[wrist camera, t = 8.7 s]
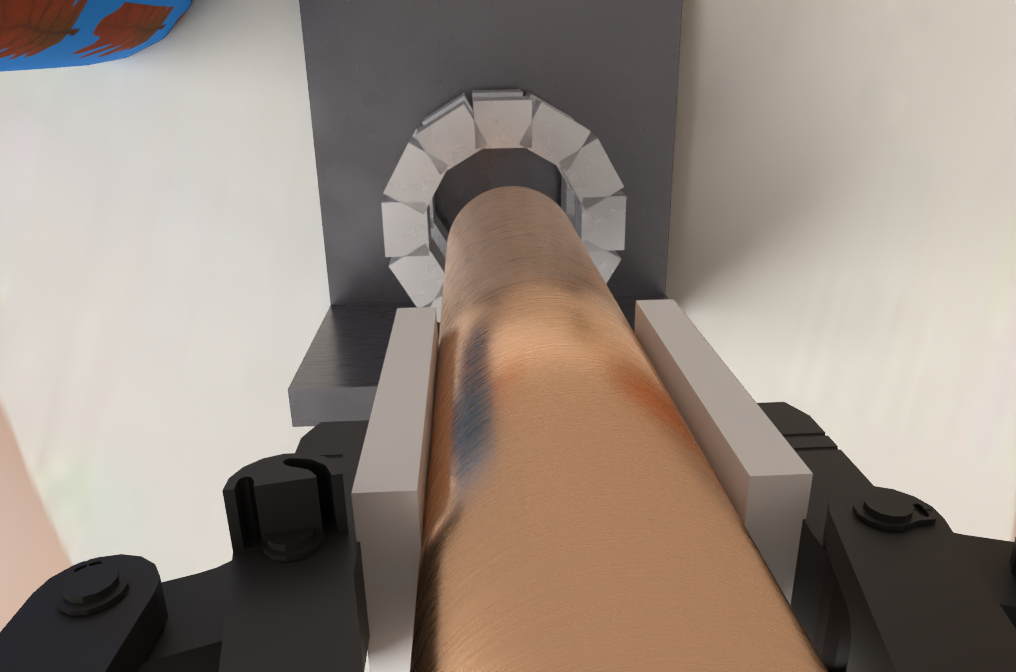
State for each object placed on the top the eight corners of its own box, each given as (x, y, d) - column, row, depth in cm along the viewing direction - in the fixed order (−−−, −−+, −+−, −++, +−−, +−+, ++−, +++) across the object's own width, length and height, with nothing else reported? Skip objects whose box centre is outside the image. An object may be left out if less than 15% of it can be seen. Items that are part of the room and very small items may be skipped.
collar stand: (656, 358, 40) (719, 462, 30) (341, 369, 39) (299, 480, 29) (677, -30, 33) (767, -60, 23) (301, -24, 32) (230, -53, 23)
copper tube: (577, 184, 23) (1039, 785, 5) (575, 310, 25) (919, 1159, 6) (443, 188, 23) (352, 828, 4) (449, 314, 24) (400, 1200, 6)
